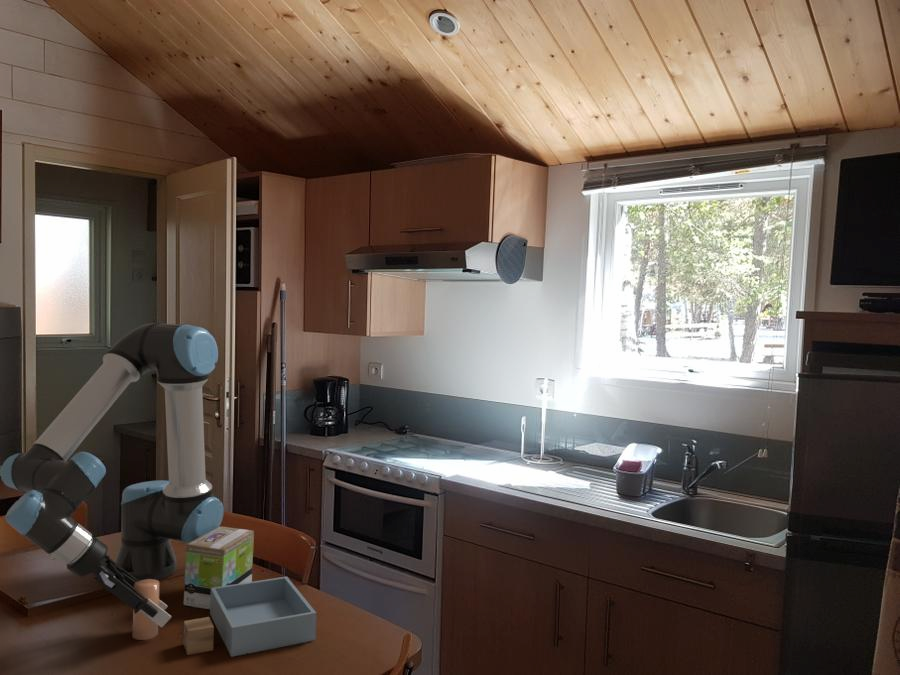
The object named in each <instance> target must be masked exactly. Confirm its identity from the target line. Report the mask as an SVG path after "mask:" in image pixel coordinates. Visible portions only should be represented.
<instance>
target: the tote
mask: <svg viewBox="0 0 900 675" xmlns="http://www.w3.org/2000/svg"><path fill="white" fill-rule="evenodd" d="M209 615H210V617H211V619H212V620H213V622H214V625H215V627H216V629H217V631H218V632H219V635H220V637H221V640H222V641H223V643H224V645H225V647H226V649H227V651H228V654H229V655H230V657H231V658H233V657H236V656H237V657H238V656H243V655H247V653H248V654H253V653H258V652H263V651H268V650H273V649H278V648H283V647H288V646H293V645H298V644H303V643H308V642H313V641H316V633H317V611H316V610H315V609H314V608H313V607H312V606H311V604H310V603H309V602H308V600H307V599H306V598H305V597H304V596H303V594H302V593H301V592H300V590H298V588H297V587H296V585H295V584H294V583H293V582H292V581H291V580H290V578H289V577H288V576H282V577H275V578H267V579H262V580H255V581H252V582H247V583H240V584H234V585H227V586H221V587H214V588H211V596H210V609H209Z"/></svg>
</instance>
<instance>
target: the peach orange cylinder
mask: <svg viewBox="0 0 900 675" xmlns="http://www.w3.org/2000/svg"><path fill="white" fill-rule="evenodd" d="M134 589H136V590H137V591H138V592H139V593H140V594H141V595H143V596H144V597H145V598H147V599H150V600H151V601H152V602H154V603H155V604H156V605H158V606H159V600H160V580H155V579H145V580H140V581H138V582H136V583H135V584H134ZM158 634H159V625H157V624H156V623H155V622H153V621H152V620H151V619H149V618H148V617H147V616H146V615H144V614H143V613H142V612H140V611H138V612H137V613H136V614H135V613H134V610H133V609H132V638H133V639H135V640H137V641H147V640H151V639H154V638H155V637H157V636H158Z"/></svg>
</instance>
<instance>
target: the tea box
mask: <svg viewBox="0 0 900 675" xmlns="http://www.w3.org/2000/svg"><path fill="white" fill-rule="evenodd" d="M254 538H255V532H254V530H251V529H243V528H235V527H228V526H221V525H220V526H219V527H217V528H216V529H214V530H212V531H210V532H208V533H206V534H205V535H203V536H201V537H199V538H197V539H195V540H194V541H192V542H190V543H186V548H185V549H186V551H185V568H184V569H185V570H184V590H183V591H184V592H183V605H184V606H188V607H192V608H198V609H204V610H210V596H211V588H214V587H221V586H227V585H234V584H240V583H247V582H253V564H254V562H253V559H254V558H253V557H254V542H255V541H254V540H255V539H254Z"/></svg>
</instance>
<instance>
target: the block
mask: <svg viewBox="0 0 900 675" xmlns="http://www.w3.org/2000/svg"><path fill="white" fill-rule="evenodd" d="M214 629H215V627H214V624H213V622H212V620H211V618H210V616H206V617H201V618H194V619H189V620H183V647H184V650H185V652H186V655H187V656H189V655H196V654H201V653H205V652H210V651H214V636H215V635H214V634H215V633H214V631H215V630H214Z"/></svg>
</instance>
